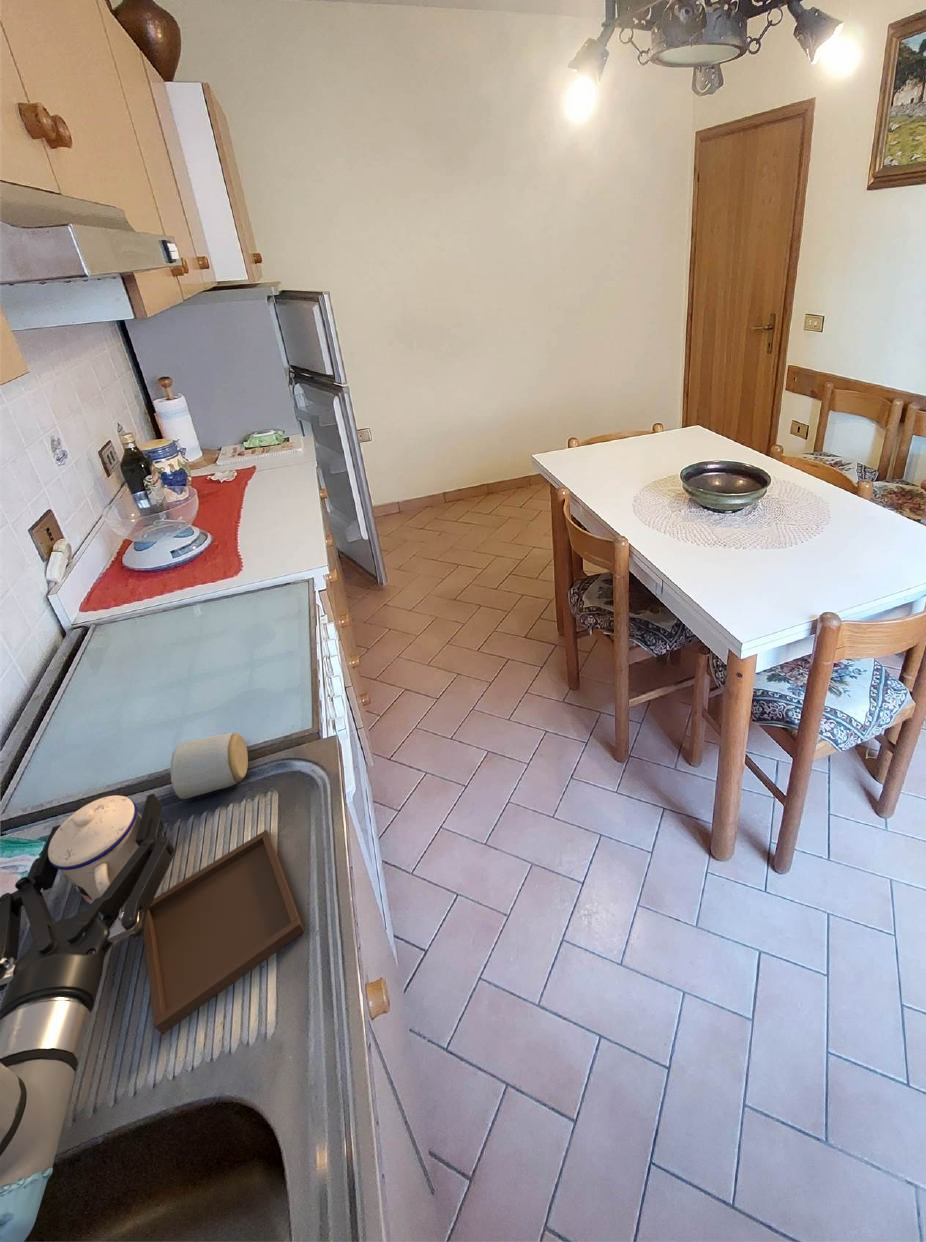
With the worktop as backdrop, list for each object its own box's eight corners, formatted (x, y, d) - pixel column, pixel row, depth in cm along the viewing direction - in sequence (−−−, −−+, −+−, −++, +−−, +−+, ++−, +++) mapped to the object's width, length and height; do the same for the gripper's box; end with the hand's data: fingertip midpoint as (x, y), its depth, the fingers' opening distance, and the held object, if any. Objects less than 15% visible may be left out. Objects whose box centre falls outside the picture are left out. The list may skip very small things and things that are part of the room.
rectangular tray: (146, 915, 70) (139, 907, 69) (271, 837, 77) (266, 829, 76) (161, 1035, 59) (154, 1027, 59) (304, 932, 67) (300, 923, 66)
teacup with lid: (82, 865, 76) (36, 810, 70) (160, 823, 80) (123, 768, 75) (82, 948, 67) (30, 892, 62) (170, 895, 72) (129, 838, 66)
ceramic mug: (246, 792, 83) (228, 756, 80) (184, 811, 82) (162, 775, 78) (256, 736, 93) (240, 701, 89) (200, 752, 91) (181, 717, 87)
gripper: (-76, 1095, 54) (21, 869, 73) (188, 984, 60) (215, 802, 79) (-128, 1061, 51) (-12, 833, 69) (158, 947, 57) (194, 765, 75)
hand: (109, 816), depth 74 cm, fingers open, 10 cm apart
